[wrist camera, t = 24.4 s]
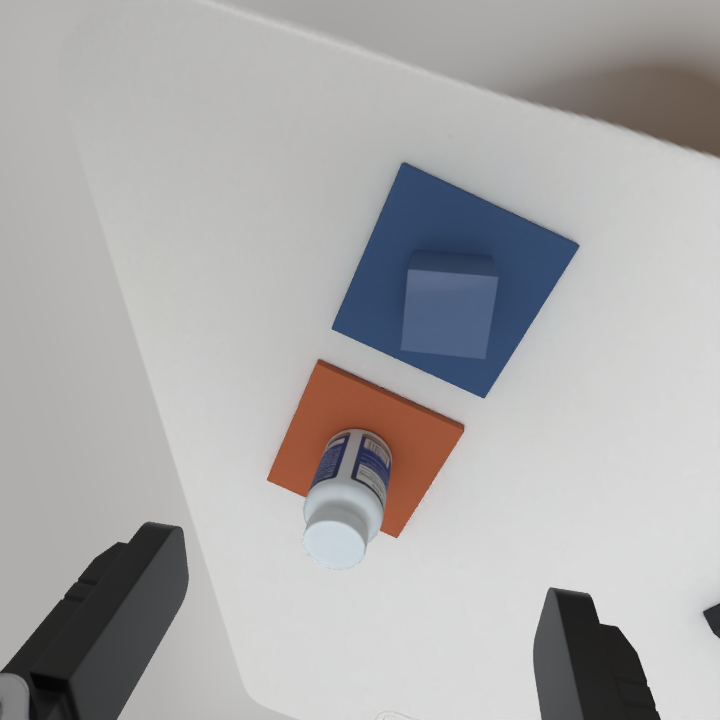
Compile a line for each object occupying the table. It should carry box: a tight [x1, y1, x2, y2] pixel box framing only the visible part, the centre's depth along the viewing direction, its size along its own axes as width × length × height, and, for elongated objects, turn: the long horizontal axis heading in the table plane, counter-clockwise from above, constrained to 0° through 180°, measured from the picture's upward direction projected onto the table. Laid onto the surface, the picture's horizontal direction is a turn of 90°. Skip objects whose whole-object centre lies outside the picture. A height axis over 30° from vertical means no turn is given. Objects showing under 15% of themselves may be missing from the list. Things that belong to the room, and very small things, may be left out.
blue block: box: [401, 250, 499, 359], centre depth 32 cm, size 5×5×5 cm
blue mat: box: [332, 163, 579, 398], centre depth 34 cm, size 12×12×1 cm
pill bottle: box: [303, 429, 392, 570], centre depth 36 cm, size 5×5×10 cm
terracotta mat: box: [267, 360, 464, 538], centre depth 41 cm, size 12×12×1 cm
